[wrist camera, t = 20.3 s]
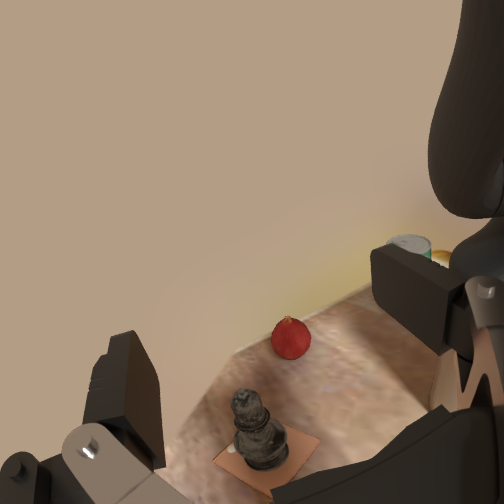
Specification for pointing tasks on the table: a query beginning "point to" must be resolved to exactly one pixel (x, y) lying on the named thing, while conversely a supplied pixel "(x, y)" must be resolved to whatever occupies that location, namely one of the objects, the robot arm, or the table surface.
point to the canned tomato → (413, 244)
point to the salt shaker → (258, 433)
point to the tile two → (265, 481)
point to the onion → (290, 338)
